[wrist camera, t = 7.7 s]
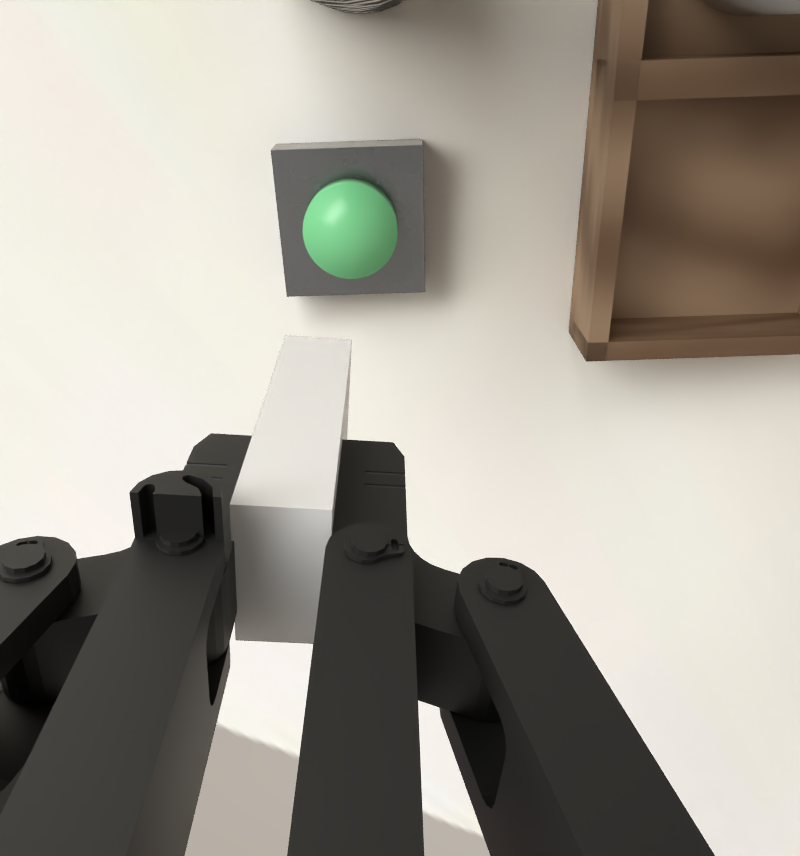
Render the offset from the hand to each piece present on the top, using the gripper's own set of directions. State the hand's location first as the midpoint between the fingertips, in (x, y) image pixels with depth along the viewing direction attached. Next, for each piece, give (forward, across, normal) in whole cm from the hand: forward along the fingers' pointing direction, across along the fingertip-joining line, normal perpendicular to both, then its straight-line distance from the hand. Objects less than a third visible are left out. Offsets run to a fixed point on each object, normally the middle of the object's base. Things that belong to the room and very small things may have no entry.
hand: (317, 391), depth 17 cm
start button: (+21, 0, -1) cm, 21 cm away
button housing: (+22, 0, -1) cm, 22 cm away
